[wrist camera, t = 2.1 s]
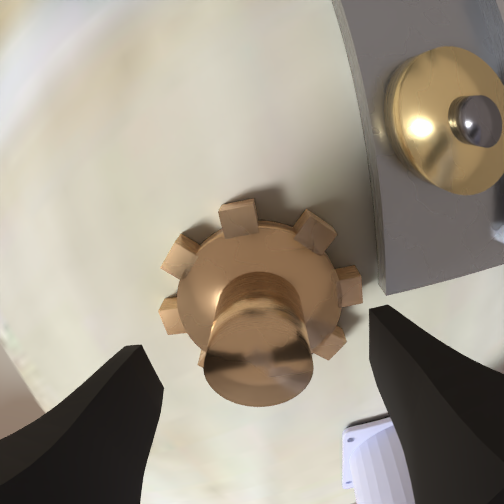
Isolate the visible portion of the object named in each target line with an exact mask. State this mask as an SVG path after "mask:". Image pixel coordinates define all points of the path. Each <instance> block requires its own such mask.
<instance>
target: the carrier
mask: <svg viewBox="0 0 504 504" xmlns="http://www.w3.org/2000/svg"><path fill="white" fill-rule="evenodd" d="M332 3H333V6H334V9H335V12H336V16H337V19H338V22H339V26H340V29H341V33H342V36H343V40H344V44H345V48H346V52H347V55H348V59H349V64H350V68H351V72H352V76H353V81H354V85H355V90H356V95H357V99H358V104H359V110H360V115H361V120H362V126H363V132H364V138H365V144H366V150H367V157H368V164H369V172H370V180H371V188H372V197H373V207H374V218H375V230H376V244H377V261H378V284H379V286H380V287H381V289H382V290H383V292H384V293H385V295H386V296H387V295H391V294H395V293H399V292H404V291H408V290H412V289H416V288H420V287H424V286H428V285H432V284H435V283H439V282H443V281H447V280H450V279H454V278H458V277H461V276H465V275H468V274H472V273H475V272H479V271H482V270H485V269H489V268H492V267H495V266H499V265H502V264H504V0H332Z"/></svg>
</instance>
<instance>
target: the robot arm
mask: <svg viewBox="0 0 504 504" xmlns="http://www.w3.org/2000/svg"><path fill="white" fill-rule="evenodd" d="M369 360H370V364H371V367H372V371H373V374H374V377H375V381H376V384H377V387H378V389H379V392H380V394H381V397H382V399H383V401H384V404H385V406H386V408H387V411H388V413H389V416H390V417H388V418H385V419H381V420H377V421H373V422H369V423H365V424H361V425H357V426H352V427H349V428H346V429H345V430H344V431H343V433H342V438H343V468H342V487H343V489H350V488H354V491H355V497H356V502H357V504H504V374H502V373H500V372H497V371H495V370H492V369H490V368H488V367H486V366H484V365H482V364H480V363H478V362H476V361H474V360H472V359H470V358H468V357H466V356H464V355H462V354H461V353H459V352H457V351H456V350H454V349H452V348H451V347H449V346H447V345H446V344H444V343H443V342H441V341H439V340H438V339H436V338H435V337H433V336H432V335H430V334H429V333H427V332H426V331H424V330H423V329H421V328H420V327H419V326H417V325H416V324H414V323H413V322H412V321H410V320H409V319H407V318H406V317H405V316H403V315H402V314H401V313H399V312H398V311H396V310H395V309H394V308H392V307H391V306H389V305H384V306H380V307H376V308H371V309H369ZM163 391H164V387H163V385H162V383H161V381H160V380H159V378H158V376H157V374H156V372H155V370H154V368H153V366H152V364H151V363H150V361H149V359H148V357H147V355H146V353H145V351H144V349H143V347H142V345H130V346H125V347H124V348H123V349H121V350H120V351H119V352H117V353H116V354H115V355H114V356H113V357H112V358H110V359H109V360H108V361H107V362H106V363H105V364H104V365H103V366H102V367H101V368H99V369H98V370H97V371H96V372H95V373H94V374H93V375H92V376H91V377H90V378H88V379H87V380H86V381H85V382H84V383H83V384H82V385H81V386H79V387H78V388H77V389H76V390H75V391H74V392H72V393H71V394H70V395H69V396H68V397H66V398H65V399H64V400H63V401H62V402H61V403H59V404H58V405H57V406H55V407H54V408H53V409H51V410H50V411H49V412H47V413H46V414H44V415H43V416H41V417H40V418H39V419H37V420H35V421H34V422H32V423H31V424H29V425H27V426H25V427H24V428H22V429H20V430H18V431H17V432H15V433H13V434H11V435H9V436H7V437H5V438H3V439H1V440H0V504H140V498H141V490H142V483H143V476H144V471H145V467H146V463H147V460H148V456H149V452H150V449H151V445H152V442H153V438H154V435H155V431H156V428H157V424H158V421H159V417H160V413H161V407H162V400H163Z"/></svg>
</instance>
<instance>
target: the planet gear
mask: <svg viewBox="0 0 504 504" xmlns="http://www.w3.org/2000/svg"><path fill="white" fill-rule="evenodd" d="M218 213H219V217H220V221H221V225H222V229H221V230H219V231H217V232H216V233H214V234H212V235H211V236H210V237H208V238H207V239H206V240H205V241H204V242H203V243H202V244H201V245H199V244H198V243H196V242H194V241H193V240H191V239H189V238H188V237H186V236H185V235H183V234H180V236H179V237H178V238H177V240H176V241H175V243H174V244H173V246H172V248H171V250H170V251H169V253H168V255H167V257H166V259H165V260H164V262H163V264H162V266H161V269H163V270H165V271H166V272H168V273H170V274H171V275H173V276H175V277H176V278H178V279H180V282H179V285H178V291H177V297H172V298H166V299H164V301H163V303H162V305H161V307H160V309H159V311H158V312H159V314H160V317H161V319H162V322H163V324H164V326H165V329H166V331H167V334H168V335H172V334H180V333H188V335H189V336H190V338H191V339H192V340H193V341H194V343H195V344H196V345H197V346H198V347H200V348H201V349H202V350H201V353H200V357H199V361H198V365H199V366H201V367H203V369H204V375H205V378H206V380H207V382H208V384H209V385H210V386H211V388H212V389H213V390H214V391H215V392H217V393H218V394H219V395H220V396H222V397H223V398H225V399H227V400H229V401H231V402H234V403H237V404H241V405H245V406H253V407H265V406H273V405H277V404H281V403H283V402H286V401H288V400H290V399H292V398H294V397H296V396H297V395H298V394H300V393H301V392H302V391H303V390H304V389H305V388H306V387H307V385H308V384H309V382H310V380H311V378H312V375H313V360H312V355H311V354H313V353H315V354H317V355H319V356H321V357H323V358H325V359H327V360H330V359H331V358H332V357H333V356H334V355H335V354H336V353H337V352H338V351H339V350H340V349H341V348H342V347H343V345H344V344H345V343H346V342H347V341H346V338H345V335H344V332H343V330H342V328H340V327H339V326H337V323H338V321H339V317H340V314H341V309H342V307H346V306H351V305H356V304H360V303H363V298H362V280H361V275H360V273H359V272H358V270H357V268H356V267H355V265H353V266H348V267H343V268H338V269H334V267H333V265H332V263H331V261H330V259H329V257H328V255H327V254H326V253H325V250H326V249H327V248H328V246H329V245H330V244H331V242H332V241H333V240H334V239H335V237H336V236H337V233H336V232H335V230H334V229H333V227H332V226H331V225H329V224H328V223H327V222H325V221H324V220H322V219H321V218H319V217H318V216H317V215H315V214H314V213H312V212H311V211H309V210H308V209H306V210H305V211H304V212H303V214H302V215H301V216H300V218H299V219H298V221H297V222H296V223H295V225H294V226H293V227H291V226H289V225H286V224H282V223H278V222H273V221H259V220H258V215H257V210H256V206H255V201H254V198H252V199H247V200H242V201H238V202H233V203H228V204H223V205H221V207H220V209H219V211H218Z"/></svg>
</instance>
